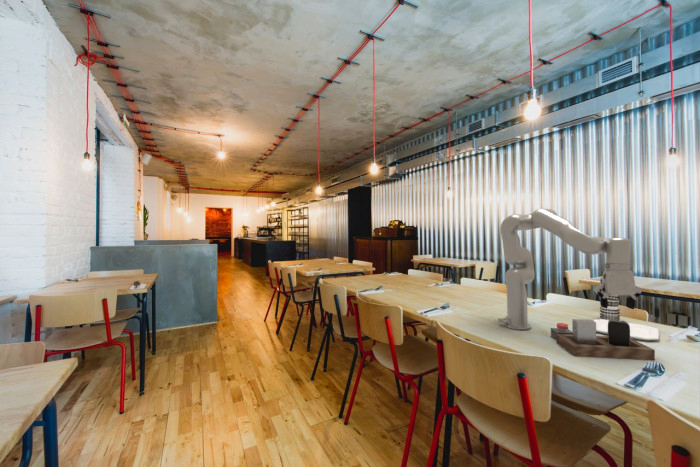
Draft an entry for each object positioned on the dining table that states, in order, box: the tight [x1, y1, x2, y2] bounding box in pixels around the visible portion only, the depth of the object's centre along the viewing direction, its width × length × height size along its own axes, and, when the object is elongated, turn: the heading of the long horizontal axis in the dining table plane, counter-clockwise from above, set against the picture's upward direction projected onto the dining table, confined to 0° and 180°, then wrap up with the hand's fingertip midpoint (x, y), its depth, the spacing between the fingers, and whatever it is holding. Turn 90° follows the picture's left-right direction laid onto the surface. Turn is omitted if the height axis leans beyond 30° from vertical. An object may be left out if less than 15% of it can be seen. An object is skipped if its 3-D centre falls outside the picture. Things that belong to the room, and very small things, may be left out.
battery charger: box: [607, 320, 630, 347], centre depth 127 cm, size 7×4×11 cm, turn 53°
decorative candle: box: [599, 275, 621, 321], centre depth 168 cm, size 9×9×25 cm
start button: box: [556, 322, 569, 329], centre depth 142 cm, size 4×4×2 cm
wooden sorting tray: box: [555, 318, 656, 361], centre depth 128 cm, size 28×15×12 cm, turn 79°
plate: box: [593, 318, 660, 342], centre depth 150 cm, size 25×25×2 cm
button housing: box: [550, 327, 573, 340], centre depth 142 cm, size 7×7×4 cm
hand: (617, 307), depth 127 cm, fingers open, 9 cm apart
